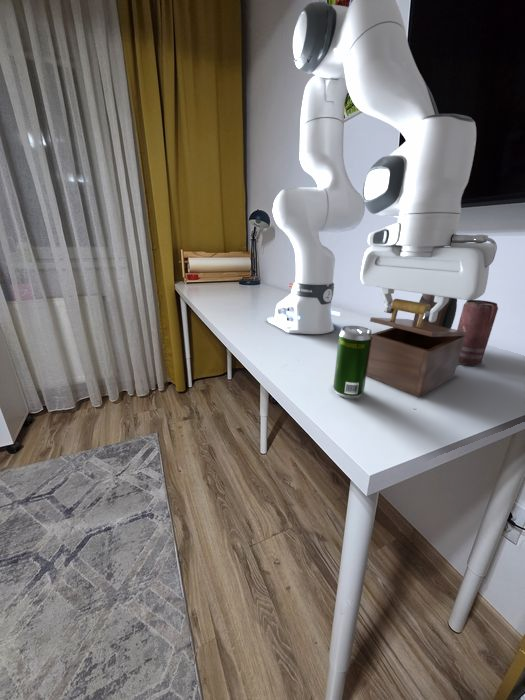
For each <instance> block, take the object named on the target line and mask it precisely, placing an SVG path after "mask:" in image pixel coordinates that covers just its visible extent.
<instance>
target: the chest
mask: <svg viewBox="0 0 525 700" xmlns="http://www.w3.org/2000/svg"><path fill="white" fill-rule="evenodd" d="M371 335H372V341H371V347H370V354H369V360H368V367H367V373H366V377H369V378H371V379H374V380H376V381H378V382H380V383H382V384H386V385H388V386H390V387H393V388H395V389H397V390H400V391H403V392H405V393H408V394H410V395H412V396H414V397H417V398H421V397H423V396H424V395H426V394H427V393H429V392H431V391H432V390H434V389H435V388H437V387H440V385H442V384H444V383H445V382H448V381H449V380H450V379H452V378H454V377H455V375H456V371H457V367H458V360H459V357H460V353H461V349H462V346H463V342H464V339H465V336H443V337H430V336H426V335H422V334H418V333H414V332H410V331H406V330H402V329H398V328H394V327H390V328H387V329H384V330H380V331H377V332H373V333H371Z"/></svg>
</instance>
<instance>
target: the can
mask: <svg viewBox="0 0 525 700" xmlns="http://www.w3.org/2000/svg"><path fill="white" fill-rule="evenodd" d="M498 310H499V306H498V303H496V302H494V301H489V300H482V299H481V300H480V299H474V300H466V301H465V302H464V304H463V306H462V309H461V314H460V318H459V321H458V325H457V329H456V330H460V331H464V332H466V335H465V339H464V342H463V346H462V349H461V353H460V357H459V360H458V364H459V365H461V366H465V367H477V366H480V365H481V364H482V362H483V359H484V355H485V353H486V349H487V345H488V342H489V339H490V336H491V333H492V330H493V326H494V323H495V320H496V317H497V315H498ZM458 364H457V365H458Z"/></svg>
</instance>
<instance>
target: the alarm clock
mask: <svg viewBox="0 0 525 700" xmlns="http://www.w3.org/2000/svg"><path fill="white" fill-rule="evenodd" d="M434 298H435V295H429V294H422V293H421V296H420V298H419V301H418V302H419V303H425V304H429V305H430V310H432V308H433V307H434V306H435V305H436V304H437V303H436V302H434ZM457 308H458V299H456V298H449V301H448V303H447V304H446V305H445V306H444V307H443V308H442V309H441V310H440V311H438V315H437V319H436V321H435V322H427V321H424V322H423V323H428V324H432V325H437V326H441V327H446V328H451V329H452V327H453V324H454V322H455V318H456V313H457ZM413 316H414V317H413V320H414V321H418V320H419V316H420V315H419V314H414V315H413Z"/></svg>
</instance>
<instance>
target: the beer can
mask: <svg viewBox="0 0 525 700" xmlns="http://www.w3.org/2000/svg"><path fill="white" fill-rule="evenodd" d="M371 334H372V330H371V329H370V328H368V327H365V326H360V325H345V326H342V327H341V328H340V332H339V334H338V342H337V350H336V359H335V370H334V379H333V390H334V393H335V394H336V395H337V396H339V397H341V398H344V399H348V400H349V399H351V400H353V399H358V398H360V397H361V396H362V395H363V394H364V391H365V386H366V380H367V376H366V373H367V367H368V360H369V354H370V347H371V341H372V335H371Z"/></svg>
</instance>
